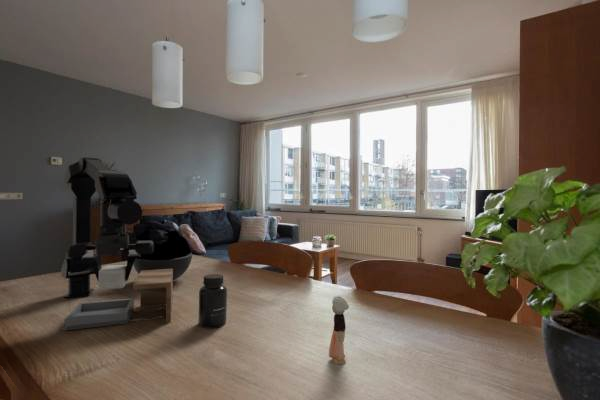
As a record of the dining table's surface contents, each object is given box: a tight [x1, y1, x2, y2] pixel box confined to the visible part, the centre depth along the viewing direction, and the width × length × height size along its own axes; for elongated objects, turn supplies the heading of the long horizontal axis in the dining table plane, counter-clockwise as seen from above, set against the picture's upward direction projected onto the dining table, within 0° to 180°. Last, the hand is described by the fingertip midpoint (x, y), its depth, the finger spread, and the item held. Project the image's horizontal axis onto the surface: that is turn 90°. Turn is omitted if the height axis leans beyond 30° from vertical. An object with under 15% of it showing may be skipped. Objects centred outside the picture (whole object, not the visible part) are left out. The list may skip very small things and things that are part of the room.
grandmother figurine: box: [328, 295, 350, 365], centre depth 63 cm, size 8×4×13 cm, turn 5°
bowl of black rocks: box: [133, 229, 193, 281], centre depth 115 cm, size 20×20×19 cm
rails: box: [61, 306, 166, 330], centre depth 83 cm, size 8×23×1 cm, turn 110°
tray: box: [64, 297, 135, 331], centre depth 82 cm, size 11×13×3 cm
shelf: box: [132, 269, 174, 324], centre depth 86 cm, size 15×8×10 cm, turn 20°
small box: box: [97, 264, 128, 290], centre depth 82 cm, size 6×6×5 cm
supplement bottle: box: [198, 273, 228, 329], centre depth 80 cm, size 7×7×12 cm
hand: (113, 281), depth 82 cm, fingers closed on small box, 6 cm apart
